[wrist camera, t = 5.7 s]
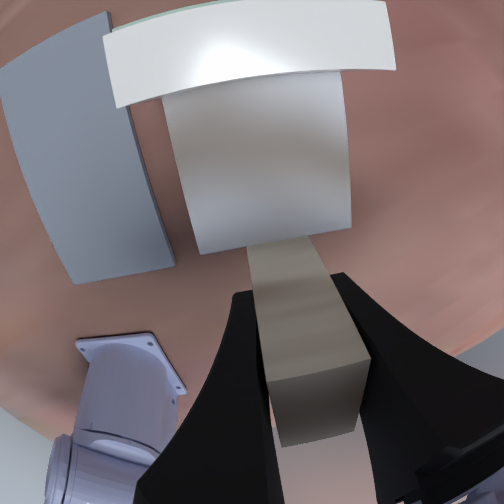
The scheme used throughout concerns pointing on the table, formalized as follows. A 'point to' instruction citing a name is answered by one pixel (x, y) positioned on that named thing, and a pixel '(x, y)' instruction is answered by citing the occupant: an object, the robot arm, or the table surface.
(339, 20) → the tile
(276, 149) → the turner
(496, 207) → the table surface
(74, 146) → the mat
